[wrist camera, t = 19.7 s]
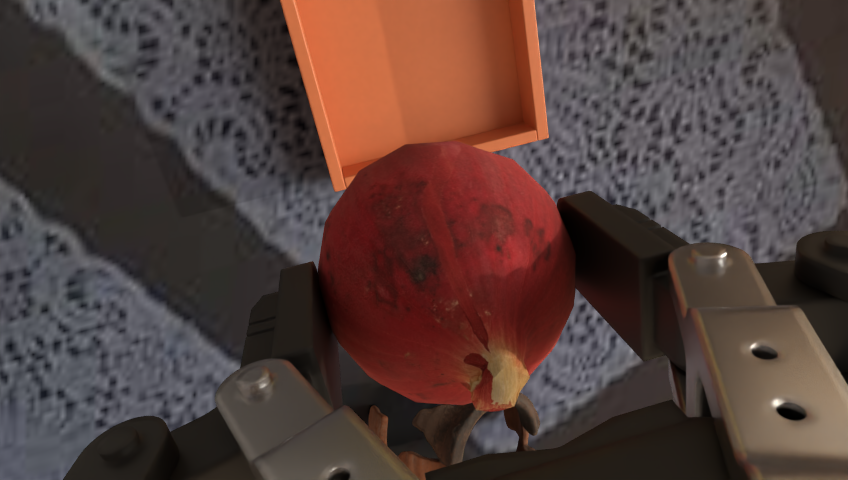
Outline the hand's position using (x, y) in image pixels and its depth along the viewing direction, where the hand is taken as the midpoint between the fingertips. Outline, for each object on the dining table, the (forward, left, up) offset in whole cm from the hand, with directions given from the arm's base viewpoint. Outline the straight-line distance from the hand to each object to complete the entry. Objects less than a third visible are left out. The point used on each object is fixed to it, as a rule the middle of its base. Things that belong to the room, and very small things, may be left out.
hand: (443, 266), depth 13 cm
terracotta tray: (+3, +3, -18) cm, 18 cm away
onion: (0, 0, -4) cm, 4 cm away
